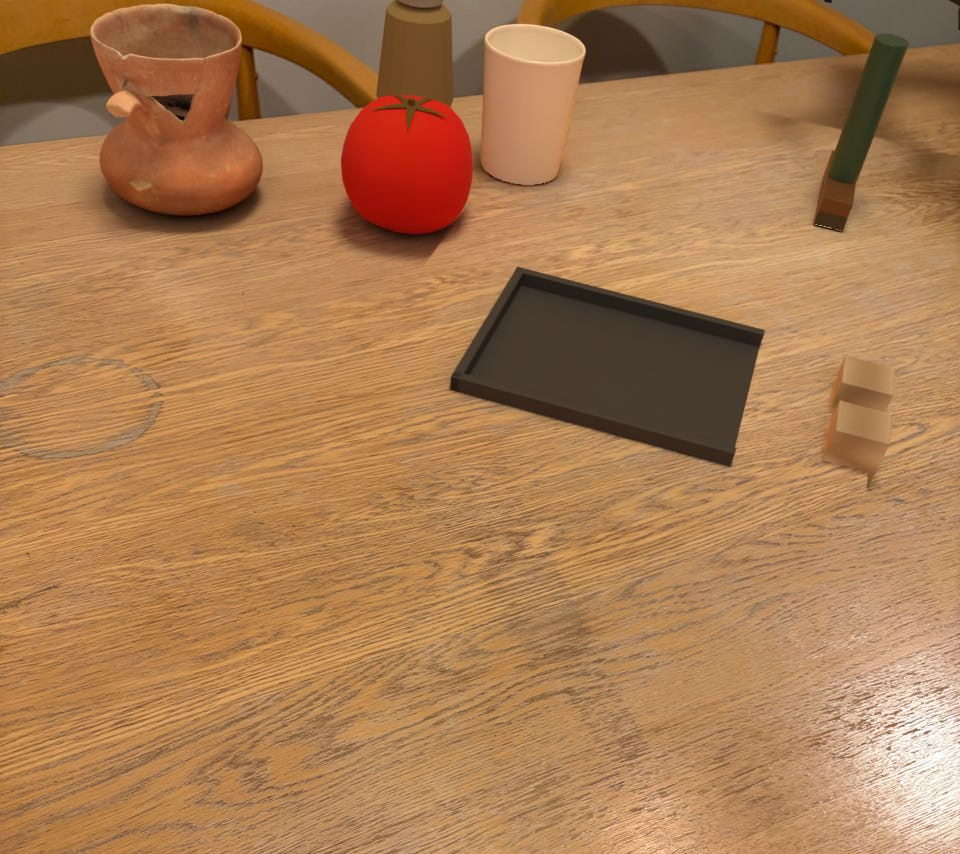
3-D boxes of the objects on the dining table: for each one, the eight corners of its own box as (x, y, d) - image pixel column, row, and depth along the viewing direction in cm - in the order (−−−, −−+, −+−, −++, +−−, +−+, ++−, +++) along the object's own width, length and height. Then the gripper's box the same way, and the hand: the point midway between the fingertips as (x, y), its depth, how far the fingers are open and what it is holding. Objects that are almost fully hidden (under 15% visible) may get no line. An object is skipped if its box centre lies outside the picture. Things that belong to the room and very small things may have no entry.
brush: (850, 184, 112) (910, 23, 100) (843, 232, 105) (907, 64, 93) (821, 177, 113) (878, 16, 101) (812, 225, 105) (872, 57, 93)
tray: (448, 402, 79) (450, 375, 77) (513, 291, 91) (517, 266, 89) (725, 478, 76) (735, 453, 75) (756, 354, 88) (765, 329, 86)
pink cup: (457, 152, 108) (467, 27, 99) (537, 142, 112) (554, 20, 103) (500, 195, 103) (515, 67, 94) (583, 183, 106) (605, 58, 97)
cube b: (871, 455, 80) (892, 413, 77) (869, 486, 78) (890, 444, 75) (821, 441, 81) (839, 399, 78) (816, 472, 78) (835, 429, 75)
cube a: (875, 408, 84) (895, 367, 81) (873, 436, 82) (893, 395, 79) (827, 396, 85) (845, 355, 82) (823, 423, 82) (841, 381, 79)
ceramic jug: (206, 254, 90) (187, 83, 79) (65, 211, 92) (28, 39, 82) (303, 175, 101) (298, 15, 91) (175, 138, 104) (155, -21, 93)
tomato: (469, 196, 102) (480, 78, 94) (465, 263, 93) (477, 140, 85) (350, 183, 101) (350, 63, 93) (334, 250, 93) (333, 124, 84)
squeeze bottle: (363, 138, 108) (366, -61, 95) (392, 110, 113) (398, -82, 100) (435, 156, 107) (447, -43, 93) (460, 127, 112) (476, -65, 99)
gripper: (1001, 7, 117) (1008, 68, 104) (787, -37, 121) (765, 17, 107) (1034, -70, 112) (1045, -16, 98) (808, -113, 115) (788, -68, 101)
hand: (899, 1), depth 102 cm, fingers open, 13 cm apart
